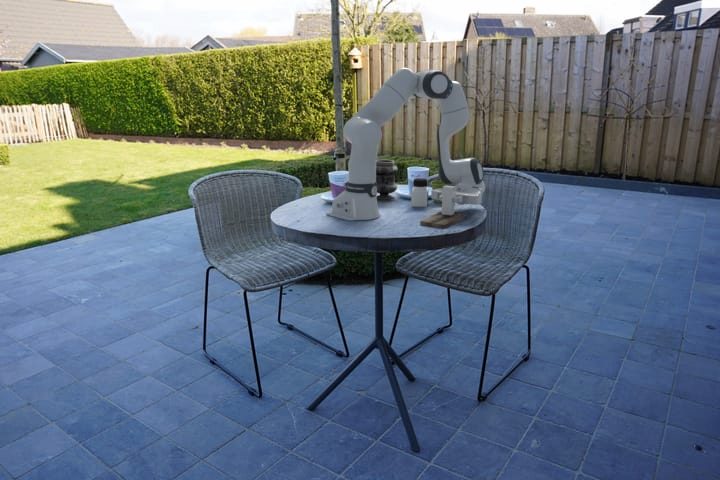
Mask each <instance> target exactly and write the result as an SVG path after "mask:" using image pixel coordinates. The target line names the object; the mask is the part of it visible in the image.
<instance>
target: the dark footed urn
mask: <svg viewBox="0 0 720 480" xmlns="http://www.w3.org/2000/svg"><path fill="white" fill-rule="evenodd" d="M397 172H398V167H397V165H395V160H392V159H377V160H376V181H377V194H378V195H376V196H377V202H378V201H380V202H388V201H389V202H391V201H394V200H395V197H394V196H392V195H391V194H393V193H394V192H396V191H397V189H398V185H397V183H396V182H395V181H396V173H397Z"/></svg>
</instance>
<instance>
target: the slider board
mask: <svg viewBox="0 0 720 480" xmlns="http://www.w3.org/2000/svg"><path fill="white" fill-rule="evenodd" d="M464 219H466V214H465V213H459V212H454V214H453V215H444V214H442V211H440V212H438V213H437V212H436V213H435V214H433V215H430V216H428V217H426V218H424V219H422V220H420V221H419V222H420V223H419V225H421V226H426V227H432V228H438V229H442V230H443V229H446V228H449V226H453V225H454V224H456V223H458V222H459V221H460V222H461V221H462V220H464Z"/></svg>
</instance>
